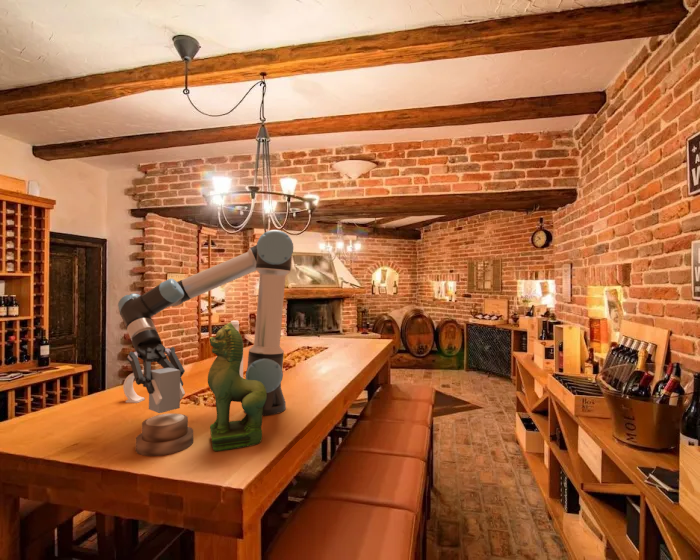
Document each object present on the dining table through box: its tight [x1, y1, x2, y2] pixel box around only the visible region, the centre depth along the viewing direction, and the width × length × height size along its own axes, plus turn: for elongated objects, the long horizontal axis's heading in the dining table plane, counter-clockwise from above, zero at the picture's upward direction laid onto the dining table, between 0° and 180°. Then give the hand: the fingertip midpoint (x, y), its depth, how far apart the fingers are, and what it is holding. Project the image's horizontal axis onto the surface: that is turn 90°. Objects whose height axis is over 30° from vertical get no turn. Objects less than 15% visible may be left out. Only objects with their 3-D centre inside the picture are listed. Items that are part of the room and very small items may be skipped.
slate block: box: [148, 367, 181, 414], centre depth 114 cm, size 6×6×11 cm
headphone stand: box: [122, 369, 146, 404], centre depth 157 cm, size 5×6×12 cm
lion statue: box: [207, 322, 267, 452], centre depth 117 cm, size 14×17×35 cm
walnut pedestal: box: [135, 413, 194, 457], centre depth 114 cm, size 15×15×7 cm
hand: (171, 398), depth 112 cm, fingers closed on slate block, 6 cm apart
